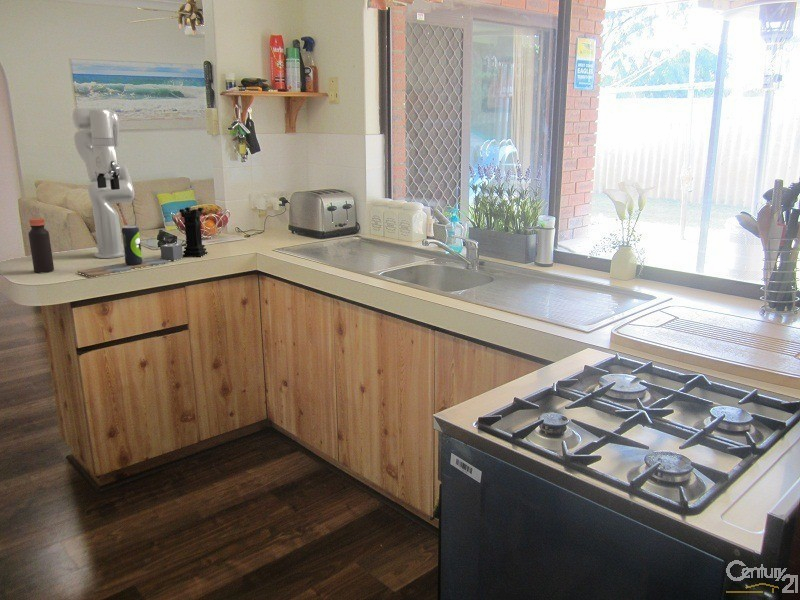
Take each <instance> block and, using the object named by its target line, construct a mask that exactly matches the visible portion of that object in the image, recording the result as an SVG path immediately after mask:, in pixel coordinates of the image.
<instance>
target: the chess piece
mask: <svg viewBox="0 0 800 600" xmlns="http://www.w3.org/2000/svg"><path fill="white" fill-rule="evenodd" d="M203 211H204V208H203V207H197V208H196V209H195V208H193V209H192V210H191V207H189V206H187V207H184V208H181V209H179V213H180V217H181V218H183V219H184V222H183V225H184V231H185V232H184V233H185V244H186V246H184V248H183V249H184V250H182V252H183V256H185V257H184V258H202V257H204V256H206V255H208V254H209V252H208V251H207V248H205V244H203V241H202V239H203V237H202V229H201V228H202V227H201V226H202V225H201V224H202V220H201V216H203ZM207 253H208V254H207ZM205 254H206V255H205ZM203 255H204V256H203ZM201 256H202V257H201Z"/></svg>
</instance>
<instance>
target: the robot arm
mask: <svg viewBox="0 0 800 600" xmlns="http://www.w3.org/2000/svg"><path fill="white" fill-rule="evenodd" d="M72 123H73V126H74V128H76V129H77V130H78V131H76V132H75V133H74V135H73V136H74V137H73V141H74V145H75V149H76V150H77V153H78V155H79V156H80V158H81V160H82V161H83V162H84V163H85V167H86V173H87V175H88V179H89V181H90V183H89V185H88V186H87V192H88V196H89V200H90V203H91V208H92V210H93V211H92V213H93V220H94V221H93V222H94V229H95V235H96V243H97V245H96V247H95V248H96V249H97V250H98V251H97V252H95V253H94V257H95V258H98V259H114V258H122V257H125V254H124V248H123V239H122V230H121V226H120V225H121V224H120V216H119V212H118V211H117V209H115V207H113V205H112V204H119V203H122V204H123V203H130V202H132V201H134V199H135V187H134V185H133V184H134V183H133V181H132V177H131V174H130V171H129V169H128V166H127V165H126V164H124V163H120V162H119V163H118V161H117V153H116V150H115V149H117V148H118V147H119V145H120V118H119V116H118V114H117V112H116V111H114V110H112V109H108V108H90V107H89V108H88V107H87V108H83V107H81V108H74V109H73V111H72Z"/></svg>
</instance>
